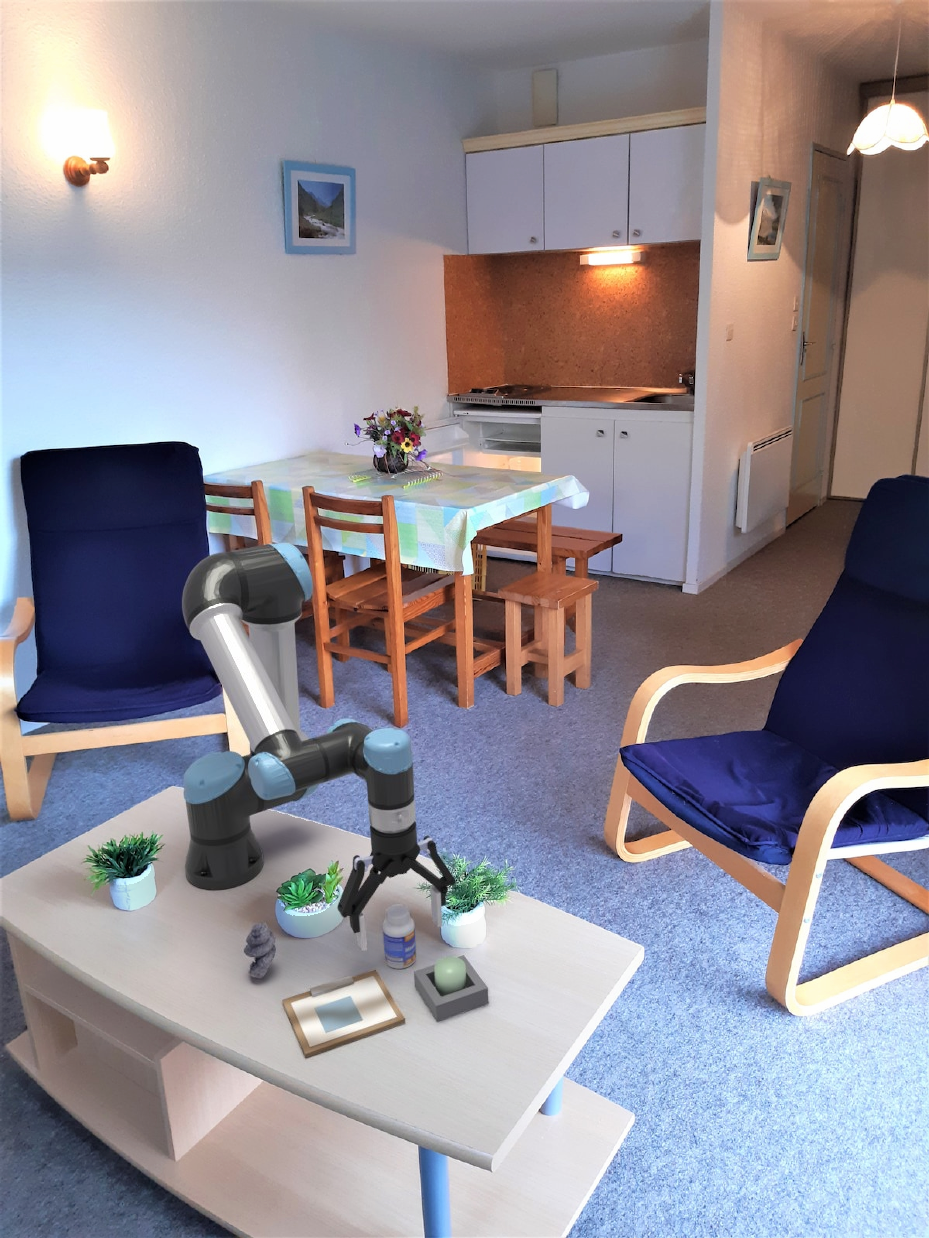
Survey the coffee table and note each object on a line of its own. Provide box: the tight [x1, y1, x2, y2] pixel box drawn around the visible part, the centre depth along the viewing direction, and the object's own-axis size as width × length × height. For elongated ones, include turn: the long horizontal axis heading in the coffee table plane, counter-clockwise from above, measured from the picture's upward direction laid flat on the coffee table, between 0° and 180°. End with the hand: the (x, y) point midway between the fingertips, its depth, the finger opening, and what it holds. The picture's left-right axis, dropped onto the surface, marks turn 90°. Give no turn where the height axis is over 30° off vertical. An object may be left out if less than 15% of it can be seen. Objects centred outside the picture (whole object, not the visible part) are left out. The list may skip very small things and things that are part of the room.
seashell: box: [243, 922, 277, 980], centre depth 158 cm, size 5×5×10 cm
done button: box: [434, 956, 467, 997], centre depth 153 cm, size 5×5×4 cm
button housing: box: [413, 954, 489, 1022], centre depth 153 cm, size 9×9×3 cm
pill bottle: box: [382, 903, 417, 970], centre depth 161 cm, size 5×5×10 cm
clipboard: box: [282, 969, 406, 1059], centre depth 150 cm, size 13×16×2 cm
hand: (400, 934), depth 160 cm, fingers open, 13 cm apart
